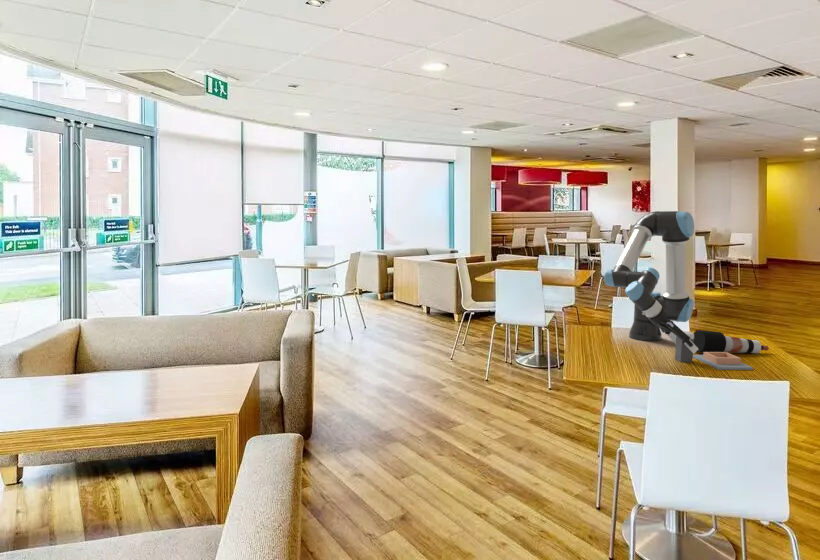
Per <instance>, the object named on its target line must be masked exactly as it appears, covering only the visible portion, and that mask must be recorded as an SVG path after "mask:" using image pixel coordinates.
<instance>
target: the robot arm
mask: <svg viewBox="0 0 820 560" xmlns="http://www.w3.org/2000/svg"><path fill="white" fill-rule="evenodd" d="M630 233H631V234H630V237H629V239H628V240H627V242H626V244H625V247H624V249H623V250H622V252H621V254H620V256H619V258H618V260H617V262H616V265H615V266H614V268H613V269H606V271H605V272H604V274H603V275H604V276H603V281H604V284H605V285H606V286H608V287H613V288H623V289H624V288H625V289H624V293H625V295H626V296H627V297H628V299H629V300H630V302H632V303H634V308H633V309H634V311H633V323H632V325H631V328H630V329H629V333H628V335H629V336H628V337H629V338H630V339H634V340H639V341H647V342H649V341H650V342H654V341H655V342H657V341H658V342H659V341H661V340H662V333H664V334H665V335H666V336H667V337H668V338H669V339H670V340H671V341H672V342H673V344H674V345H676V336H677V337H678V338H680V339H681V340H682V341H683V342H682V343H683V344H685V345H686V346H687V347H688V348H689V349H690V350H691V352H692V353H693V354H696V353H697V352H696V351H697V350H698V348H697V347H696V346H695V344H694V343H693V342H692V341H691V340H690V337H689V336H688V335H687V334H685V333H684V332H685V331H684V330H682V329H681V328H680V327H679V326H677V324H675V322H677V323H679V322H680V323H686V322H688V321H690V319H691V317H692V314H693V311H694V308H695V306H694V305H695V302H694V301H695V300H694V299H693V298H690V293H689V292H688V291H687V286H686V285H687V282H686V281H687V260H686V259H687V243H688V242H689V241H690V238H691V237H693V235H694V233H695V221H694V218H693V216H692V214H691V213H690V212H688V211H680V210H673V211H672V210H671V211H669V210H668V211H666V210H664V211H660V210H659V211H658V210H657V211H652V212H649V213H646V214H644V215H643V216H641V218H639V219H638V220H637V221H636V222H635V224H634V225H633V226H632V228H631V231H630ZM656 236H658V237H661V240H662V242H663V243H664V244H665V291H664V292H663V294H662V295H661V292H657V291H654V290H655V288H656V286H657V284H658V283H659V279H660V273H659V271H658V270H657V269H656V268H653V267H645V268H644V269H643V270H642V271H633V270H634V268H635V266H636V264H637V262H638V260H639V259H640V257H641V255H642V253H643V251H644V248H645V246H646V244H647V242H648V241H649V242H650V240H651V239H652V237H656Z"/></svg>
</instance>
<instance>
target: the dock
mask: <svg viewBox="0 0 820 560" xmlns="http://www.w3.org/2000/svg"><path fill="white" fill-rule="evenodd" d="M693 359H696V360H698V361H700V362H702V363H704V364H707V365H708V366H710V367H712V368H714V369H716V370H718V371H719V370H722V371H723V370H724V371H725V370H727V371H729V370H730V371H731V370H735V371H737V370H738V371H739V370H741V371H747V370H748V371H749V370H750V371H751V370H752V371H753V369H754V368H753V367H752V366H751V365H748V364H746V363H743V362H742V361H741V360H742V357H739V356H736V355H734V354H732V353H731V352H704V353H702V354H693Z"/></svg>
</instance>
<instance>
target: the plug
mask: <svg viewBox="0 0 820 560" xmlns="http://www.w3.org/2000/svg"><path fill="white" fill-rule="evenodd" d="M683 332H684V333H685V334H687V335H688V336H689V337H690V340H691V341H692V342H693V343H694V334H693V332H690V331H683ZM682 342H683V341H682V340H681V339H680V338H678V337H677V336H676V344H675V350H674V352H675V353H674V360H676V361H678V362H680V363H692V362H693V359H694V358H693V355H694V353H692V352H691V350H690V349H689V348H688V347H687V346H686V345H685V344H683V343H682Z"/></svg>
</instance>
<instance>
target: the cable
mask: <svg viewBox="0 0 820 560" xmlns="http://www.w3.org/2000/svg"><path fill="white" fill-rule="evenodd" d="M692 334H694V344H695V346H696V347H697V348H698V350H697V351H696V352H695V353H701V354H703V353H704V352H727V353H734V354H738V353H740V354H741V353H742V354H759V353H760V352H761V351H766V352H767V351H768V350H770V347H769V346H768V345H763V344H761V342H760V341H759V340H756V339H755V340H754V339H749V338H743V337H742V338H740V337H737V336H736V337H735V336H729V335H728V336H727V335H725V334H724V333H722V332H721V331H711V330H703V329H702V330H701V329H697V330H695V331H694V332H692Z"/></svg>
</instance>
